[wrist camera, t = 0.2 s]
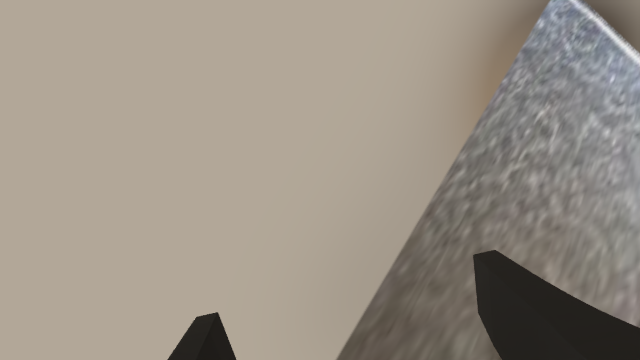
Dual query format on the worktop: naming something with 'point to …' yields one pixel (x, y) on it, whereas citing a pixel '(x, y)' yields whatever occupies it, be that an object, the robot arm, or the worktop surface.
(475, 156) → the worktop surface
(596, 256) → the worktop surface
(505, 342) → the robot arm
